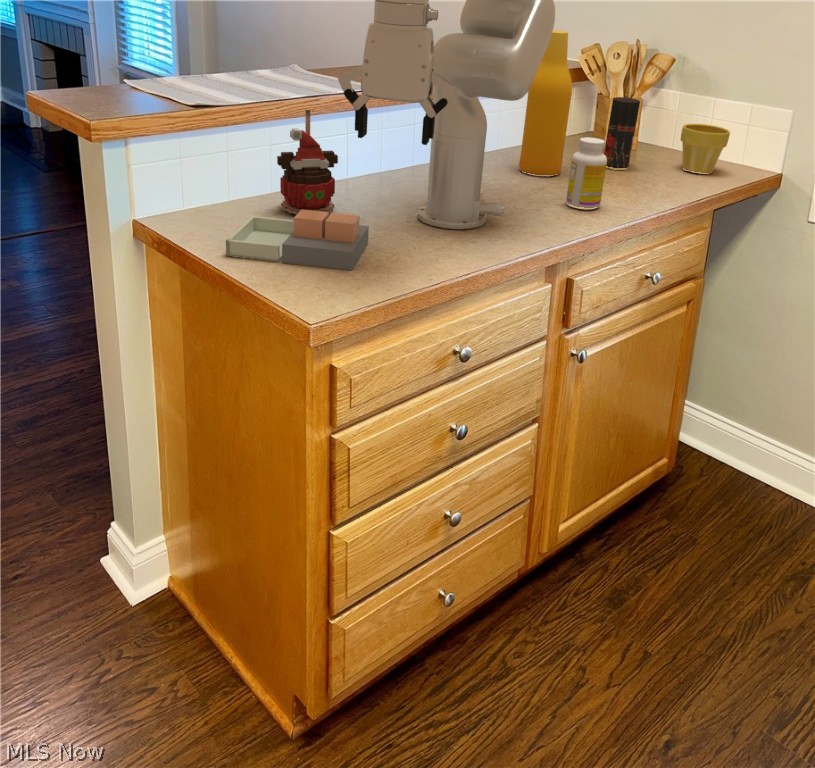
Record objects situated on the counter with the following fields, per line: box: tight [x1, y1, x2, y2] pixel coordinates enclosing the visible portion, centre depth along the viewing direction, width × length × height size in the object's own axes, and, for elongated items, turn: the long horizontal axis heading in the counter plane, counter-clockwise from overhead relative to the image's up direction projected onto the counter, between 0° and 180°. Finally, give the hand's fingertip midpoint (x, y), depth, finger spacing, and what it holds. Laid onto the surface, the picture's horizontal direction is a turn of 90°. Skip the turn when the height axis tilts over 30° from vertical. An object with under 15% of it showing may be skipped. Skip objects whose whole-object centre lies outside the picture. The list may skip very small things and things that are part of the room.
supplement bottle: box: [565, 136, 607, 208], centre depth 168 cm, size 7×7×13 cm
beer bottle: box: [518, 29, 573, 175], centre depth 185 cm, size 9×9×29 cm
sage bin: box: [225, 215, 294, 263], centre depth 140 cm, size 8×13×3 cm, turn 171°
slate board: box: [281, 224, 370, 272], centre depth 139 cm, size 11×13×3 cm
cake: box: [276, 108, 339, 215], centre depth 154 cm, size 11×9×18 cm
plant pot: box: [680, 123, 731, 173], centre depth 199 cm, size 10×10×10 cm
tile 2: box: [325, 212, 361, 243], centre depth 138 cm, size 4×4×3 cm
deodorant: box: [603, 96, 641, 168], centre depth 196 cm, size 6×6×15 cm
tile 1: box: [293, 209, 330, 239], centre depth 138 cm, size 4×4×3 cm
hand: (393, 139), depth 130 cm, fingers open, 9 cm apart
